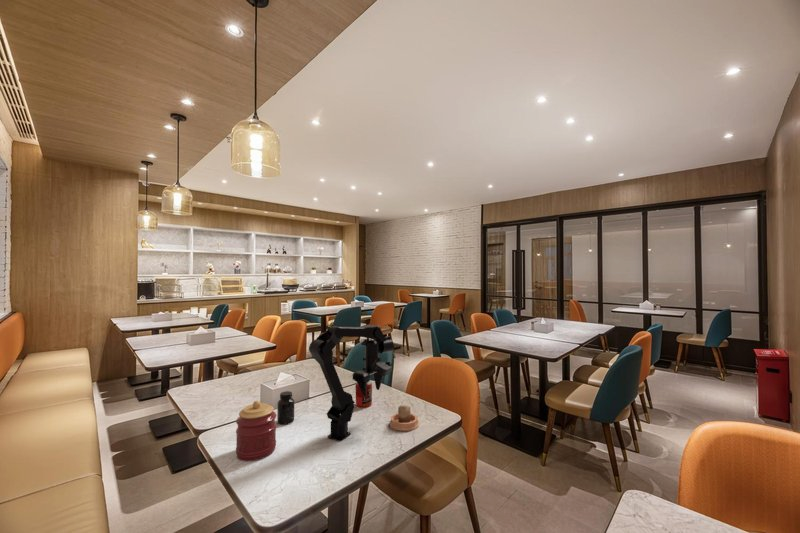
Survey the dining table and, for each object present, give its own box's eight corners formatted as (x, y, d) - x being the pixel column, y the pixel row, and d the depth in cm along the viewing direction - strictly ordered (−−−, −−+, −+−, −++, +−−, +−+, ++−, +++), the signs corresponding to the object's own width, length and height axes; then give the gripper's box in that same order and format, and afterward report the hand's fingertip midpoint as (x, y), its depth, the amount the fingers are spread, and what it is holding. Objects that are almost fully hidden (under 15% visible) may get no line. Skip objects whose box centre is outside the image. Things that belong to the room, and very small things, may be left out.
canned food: (364, 409, 154) (364, 385, 154) (352, 405, 159) (352, 381, 159) (375, 404, 160) (375, 381, 160) (363, 400, 165) (363, 378, 165)
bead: (406, 426, 135) (406, 410, 135) (396, 423, 137) (396, 408, 137) (412, 421, 139) (412, 406, 139) (402, 418, 142) (402, 404, 142)
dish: (410, 433, 130) (410, 426, 130) (384, 426, 136) (384, 420, 136) (423, 421, 140) (423, 415, 141) (398, 416, 146) (398, 410, 146)
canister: (264, 439, 126) (264, 391, 127) (283, 450, 118) (283, 399, 119) (228, 453, 116) (229, 402, 117) (246, 466, 108) (247, 411, 109)
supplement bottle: (273, 423, 140) (273, 394, 140) (286, 417, 146) (286, 389, 146) (285, 426, 137) (285, 396, 137) (297, 420, 143) (298, 391, 143)
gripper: (374, 362, 129) (373, 403, 128) (399, 353, 144) (399, 390, 144) (351, 358, 134) (351, 397, 134) (378, 350, 150) (378, 385, 150)
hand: (371, 392), depth 140 cm, fingers open, 9 cm apart
